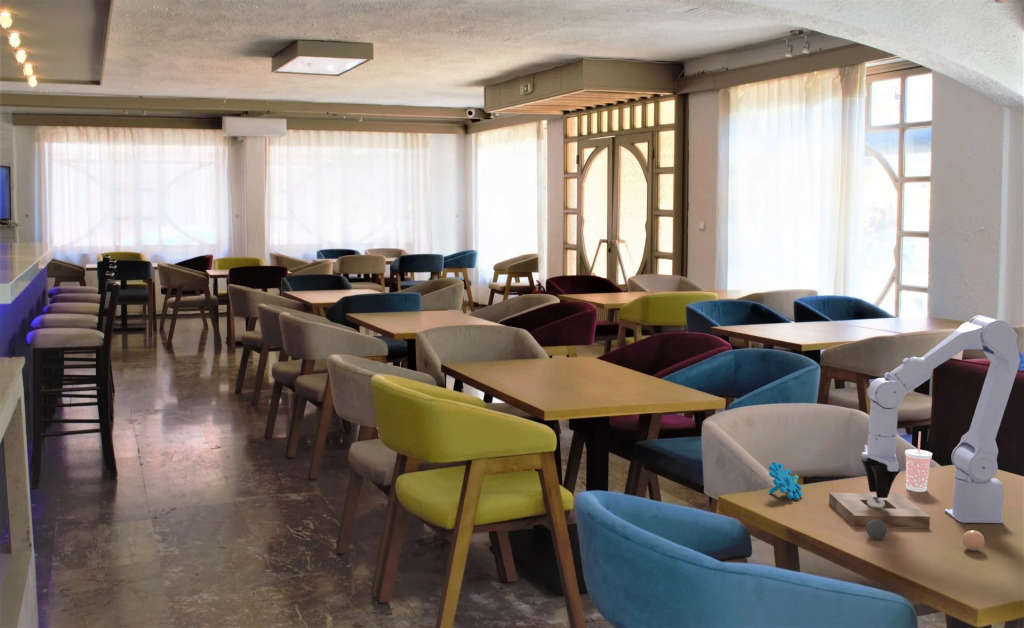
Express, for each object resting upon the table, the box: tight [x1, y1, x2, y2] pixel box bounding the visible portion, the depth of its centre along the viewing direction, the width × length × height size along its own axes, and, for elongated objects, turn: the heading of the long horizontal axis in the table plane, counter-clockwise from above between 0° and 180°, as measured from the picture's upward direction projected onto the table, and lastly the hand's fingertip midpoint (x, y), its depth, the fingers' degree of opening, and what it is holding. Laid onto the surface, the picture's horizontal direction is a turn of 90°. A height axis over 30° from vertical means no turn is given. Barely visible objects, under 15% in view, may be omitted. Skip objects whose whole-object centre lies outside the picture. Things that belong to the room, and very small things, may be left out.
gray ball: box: [865, 519, 888, 540], centre depth 201 cm, size 4×4×4 cm
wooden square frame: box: [828, 492, 931, 529], centre depth 216 cm, size 16×16×2 cm
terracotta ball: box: [961, 529, 985, 552], centre depth 195 cm, size 4×4×4 cm
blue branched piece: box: [768, 461, 804, 501], centre depth 230 cm, size 11×6×10 cm
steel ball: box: [866, 497, 886, 509], centre depth 216 cm, size 4×4×4 cm
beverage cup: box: [904, 431, 933, 493], centre depth 235 cm, size 6×6×14 cm
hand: (878, 494), depth 215 cm, fingers open, 4 cm apart
